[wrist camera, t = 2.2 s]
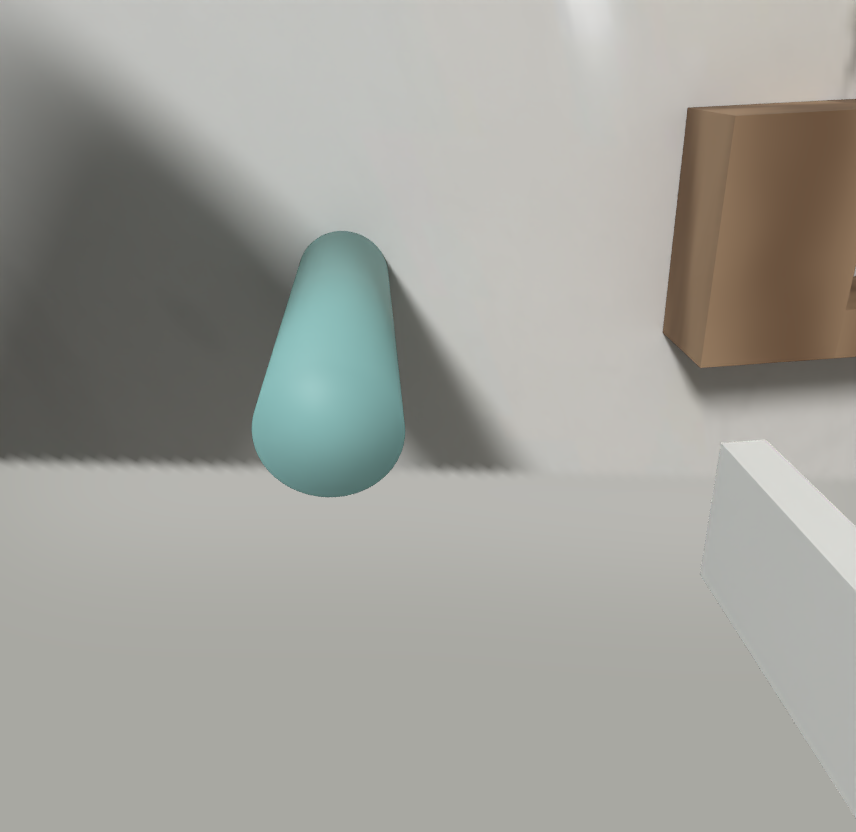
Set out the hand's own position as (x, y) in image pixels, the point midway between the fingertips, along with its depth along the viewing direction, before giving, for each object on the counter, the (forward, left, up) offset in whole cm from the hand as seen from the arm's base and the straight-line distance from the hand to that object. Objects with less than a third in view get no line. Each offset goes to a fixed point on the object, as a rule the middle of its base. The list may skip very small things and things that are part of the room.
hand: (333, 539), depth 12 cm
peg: (0, 0, -16) cm, 16 cm away
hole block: (+19, +1, -16) cm, 24 cm away
